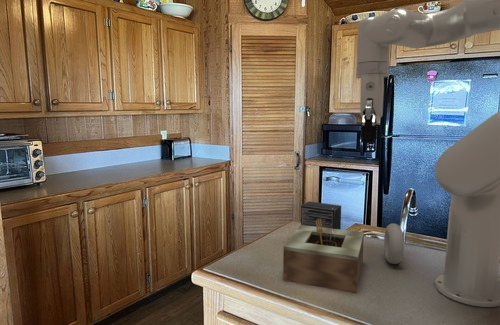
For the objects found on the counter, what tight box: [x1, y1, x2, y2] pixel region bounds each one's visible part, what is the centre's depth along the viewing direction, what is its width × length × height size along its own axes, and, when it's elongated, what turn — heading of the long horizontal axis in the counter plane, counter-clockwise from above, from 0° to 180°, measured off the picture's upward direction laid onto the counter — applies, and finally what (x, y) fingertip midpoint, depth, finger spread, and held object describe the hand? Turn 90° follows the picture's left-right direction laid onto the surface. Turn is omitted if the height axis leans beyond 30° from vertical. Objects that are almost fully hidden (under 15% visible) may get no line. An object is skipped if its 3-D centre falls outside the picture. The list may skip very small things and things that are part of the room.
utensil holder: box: [316, 219, 338, 247], centre depth 85 cm, size 6×6×12 cm
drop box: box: [282, 224, 365, 294], centre depth 85 cm, size 16×16×8 cm
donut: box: [383, 223, 405, 265], centre depth 90 cm, size 10×3×10 cm, turn 168°
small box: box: [300, 201, 342, 230], centre depth 106 cm, size 11×6×10 cm, turn 58°
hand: (369, 141), depth 90 cm, fingers open, 9 cm apart
